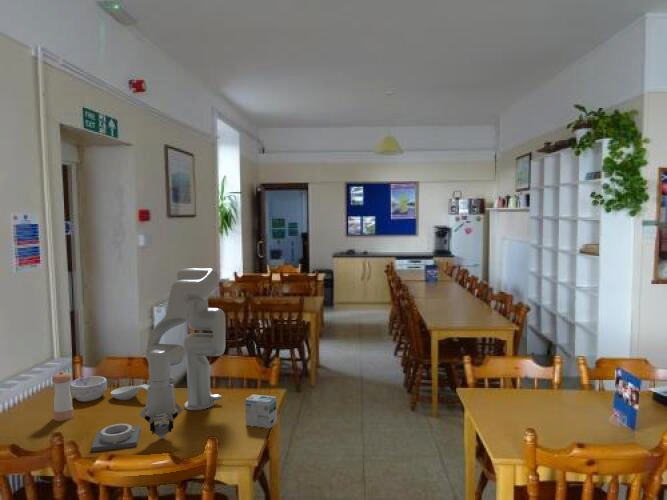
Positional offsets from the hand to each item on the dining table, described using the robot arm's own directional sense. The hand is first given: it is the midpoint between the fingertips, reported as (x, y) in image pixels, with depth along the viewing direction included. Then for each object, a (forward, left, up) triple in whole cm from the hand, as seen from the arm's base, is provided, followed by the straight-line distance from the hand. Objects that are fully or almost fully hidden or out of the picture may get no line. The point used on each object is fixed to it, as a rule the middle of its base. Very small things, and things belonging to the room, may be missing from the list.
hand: (162, 431), depth 192 cm
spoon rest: (+14, -48, -3) cm, 50 cm away
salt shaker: (+40, -34, -3) cm, 53 cm away
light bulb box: (-37, -3, -3) cm, 37 cm away
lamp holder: (+16, -4, -3) cm, 17 cm away
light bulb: (0, 0, -3) cm, 3 cm away
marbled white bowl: (+34, -56, -3) cm, 66 cm away
